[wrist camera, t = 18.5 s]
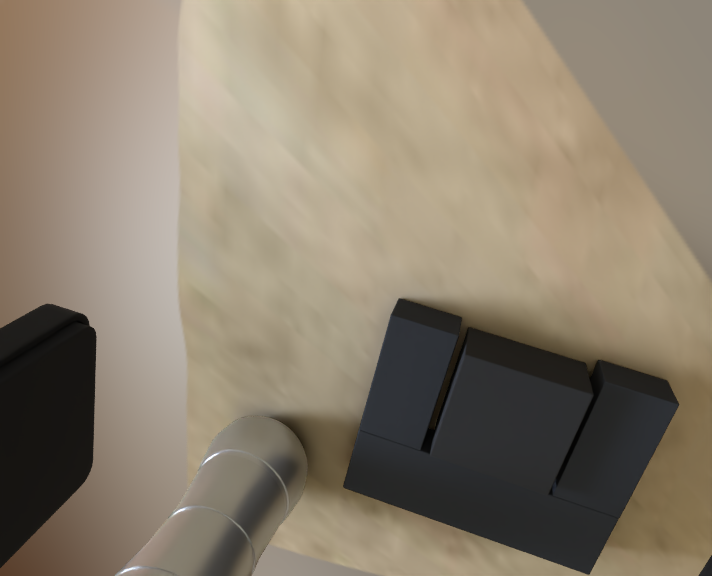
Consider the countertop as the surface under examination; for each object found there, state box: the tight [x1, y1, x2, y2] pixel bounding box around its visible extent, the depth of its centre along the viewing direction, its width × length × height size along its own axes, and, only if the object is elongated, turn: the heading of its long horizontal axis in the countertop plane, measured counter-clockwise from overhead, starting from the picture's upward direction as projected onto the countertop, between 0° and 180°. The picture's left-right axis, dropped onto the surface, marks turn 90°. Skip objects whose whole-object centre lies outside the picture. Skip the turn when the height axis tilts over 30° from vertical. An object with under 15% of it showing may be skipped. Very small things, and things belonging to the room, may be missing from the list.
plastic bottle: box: [115, 416, 308, 576], centre depth 31 cm, size 6×7×20 cm
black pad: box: [430, 327, 594, 495], centre depth 33 cm, size 7×7×4 cm
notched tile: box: [343, 298, 679, 574], centre depth 34 cm, size 12×15×2 cm
